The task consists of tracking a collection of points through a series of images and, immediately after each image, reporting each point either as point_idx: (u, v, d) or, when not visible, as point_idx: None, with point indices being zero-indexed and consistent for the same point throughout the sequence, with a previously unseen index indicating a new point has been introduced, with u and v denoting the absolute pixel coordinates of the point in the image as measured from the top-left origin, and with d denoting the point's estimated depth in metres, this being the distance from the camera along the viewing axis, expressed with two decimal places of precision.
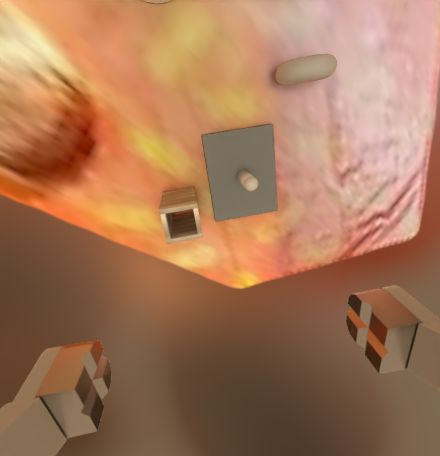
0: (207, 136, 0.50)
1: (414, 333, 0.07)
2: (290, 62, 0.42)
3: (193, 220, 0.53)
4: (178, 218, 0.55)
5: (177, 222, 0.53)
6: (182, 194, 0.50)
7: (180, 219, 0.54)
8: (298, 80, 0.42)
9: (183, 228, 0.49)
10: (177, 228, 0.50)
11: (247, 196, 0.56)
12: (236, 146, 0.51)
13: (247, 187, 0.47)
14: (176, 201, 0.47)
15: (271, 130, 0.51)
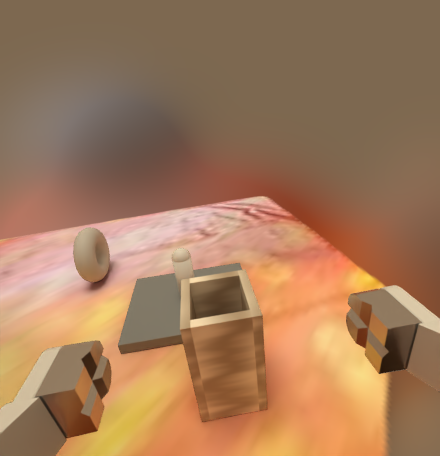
0: (122, 338, 0.33)
1: (414, 333, 0.07)
2: (73, 253, 0.43)
3: None
4: None
5: None
6: None
7: None
8: (91, 245, 0.44)
9: None
10: None
11: None
12: (148, 306, 0.38)
13: (182, 255, 0.35)
14: None
15: (143, 279, 0.45)
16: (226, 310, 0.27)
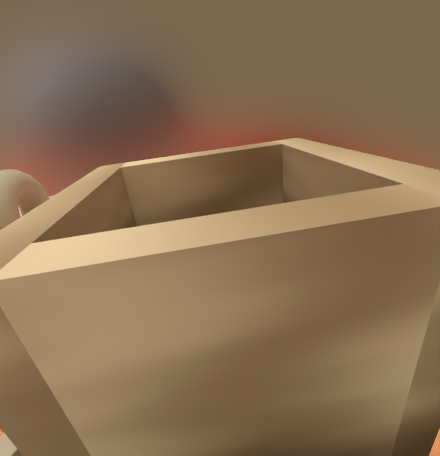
0: None
1: None
2: None
3: None
4: None
5: None
6: None
7: None
8: (9, 192, 0.27)
9: None
10: None
11: None
12: None
13: None
14: None
15: None
16: None
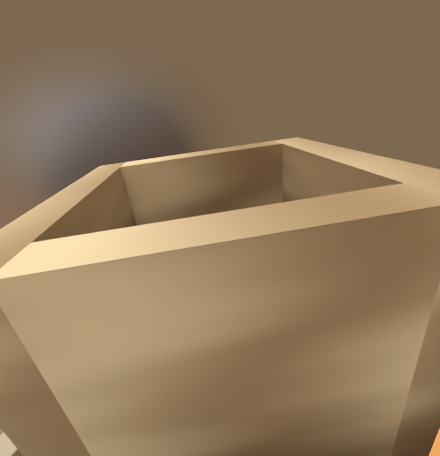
0: None
1: None
2: None
3: None
4: None
5: None
6: None
7: None
8: None
9: None
10: None
11: None
12: None
13: None
14: None
15: None
16: None
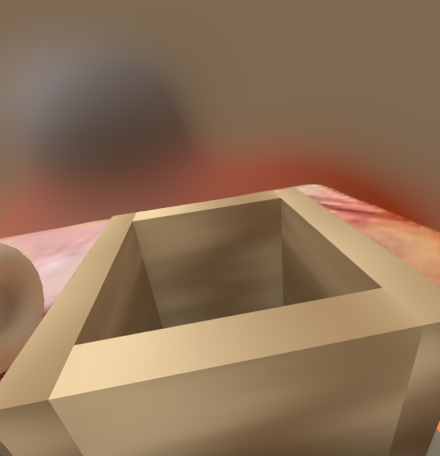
0: None
1: None
2: None
3: None
4: None
5: None
6: None
7: None
8: None
9: None
10: None
11: None
12: None
13: None
14: None
15: None
16: (242, 304, 0.10)
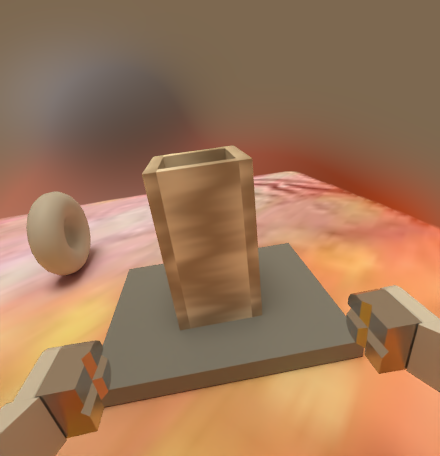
0: None
1: (414, 333, 0.07)
2: (27, 227, 0.27)
3: None
4: None
5: None
6: None
7: None
8: (57, 215, 0.28)
9: None
10: None
11: (266, 282, 0.24)
12: (147, 313, 0.22)
13: None
14: None
15: (139, 269, 0.28)
16: None
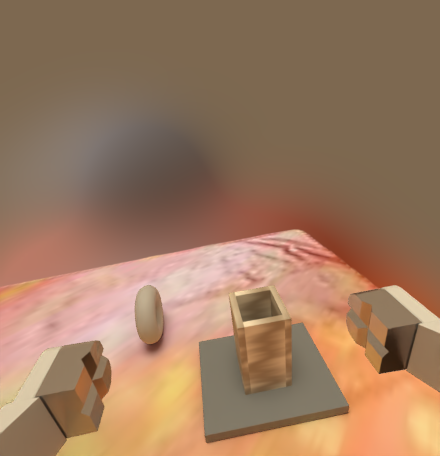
0: (206, 426, 0.32)
1: (414, 333, 0.07)
2: (136, 318, 0.42)
3: None
4: None
5: None
6: (236, 345, 0.37)
7: None
8: (153, 308, 0.43)
9: None
10: None
11: None
12: (222, 381, 0.37)
13: None
14: (235, 330, 0.34)
15: (205, 342, 0.44)
16: (260, 315, 0.37)
